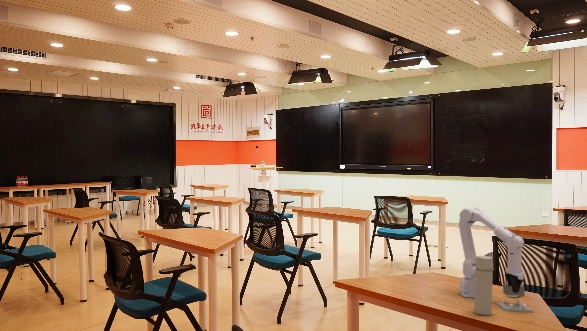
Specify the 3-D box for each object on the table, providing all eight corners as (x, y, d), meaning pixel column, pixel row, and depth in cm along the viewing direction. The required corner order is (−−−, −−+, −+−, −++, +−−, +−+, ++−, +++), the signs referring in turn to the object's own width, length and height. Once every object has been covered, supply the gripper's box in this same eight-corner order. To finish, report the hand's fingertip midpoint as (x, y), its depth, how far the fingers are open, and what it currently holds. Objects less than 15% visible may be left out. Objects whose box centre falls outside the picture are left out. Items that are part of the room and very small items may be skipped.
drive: (506, 295, 204) (506, 286, 204) (503, 292, 208) (503, 283, 208) (524, 295, 203) (524, 286, 203) (520, 293, 207) (520, 284, 207)
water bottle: (486, 317, 190) (488, 259, 190) (469, 312, 196) (471, 256, 196) (497, 313, 195) (499, 257, 195) (481, 308, 201) (482, 254, 201)
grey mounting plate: (505, 310, 199) (505, 304, 199) (497, 304, 208) (497, 298, 208) (532, 312, 199) (532, 305, 199) (523, 305, 208) (523, 299, 208)
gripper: (530, 265, 198) (529, 296, 198) (516, 259, 212) (515, 287, 212) (514, 265, 198) (513, 295, 198) (501, 258, 213) (500, 286, 213)
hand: (513, 291), depth 205 cm, fingers closed on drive, 4 cm apart
